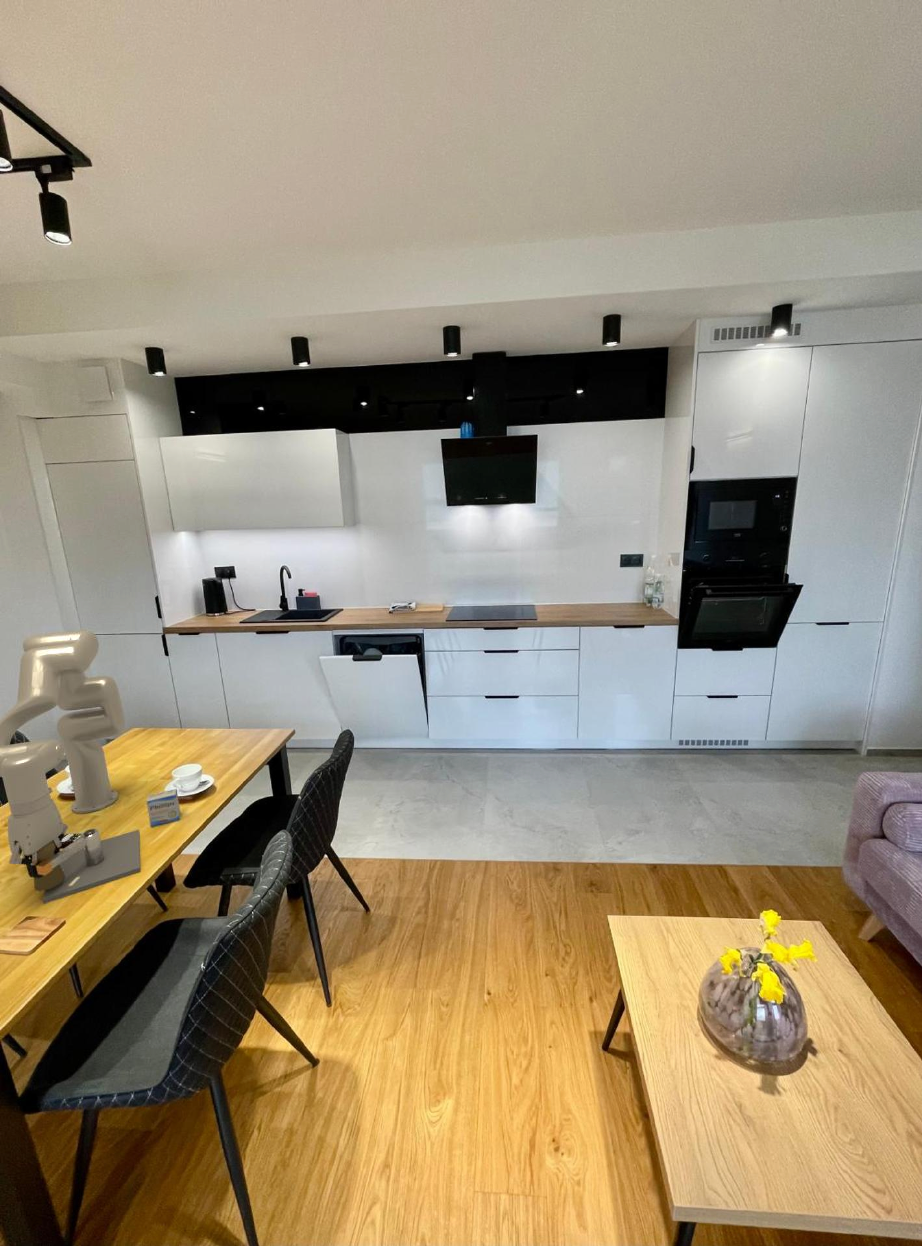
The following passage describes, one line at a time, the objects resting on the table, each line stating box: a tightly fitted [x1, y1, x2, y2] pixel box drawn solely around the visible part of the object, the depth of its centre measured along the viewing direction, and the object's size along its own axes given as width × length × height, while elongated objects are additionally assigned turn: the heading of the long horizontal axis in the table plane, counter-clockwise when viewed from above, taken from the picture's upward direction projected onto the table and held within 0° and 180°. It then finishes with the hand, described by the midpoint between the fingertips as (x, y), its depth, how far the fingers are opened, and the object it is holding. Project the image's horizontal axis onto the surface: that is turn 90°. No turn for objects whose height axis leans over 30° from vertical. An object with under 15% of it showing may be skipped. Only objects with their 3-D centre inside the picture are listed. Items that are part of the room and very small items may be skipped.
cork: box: [29, 841, 65, 892], centre depth 127 cm, size 6×6×11 cm
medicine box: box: [146, 788, 181, 828], centre depth 156 cm, size 8×4×9 cm, turn 117°
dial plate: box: [42, 829, 141, 905], centre depth 137 cm, size 20×20×2 cm
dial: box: [36, 828, 104, 875], centre depth 131 cm, size 15×4×8 cm, turn 167°
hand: (46, 868), depth 127 cm, fingers closed on cork, 4 cm apart
